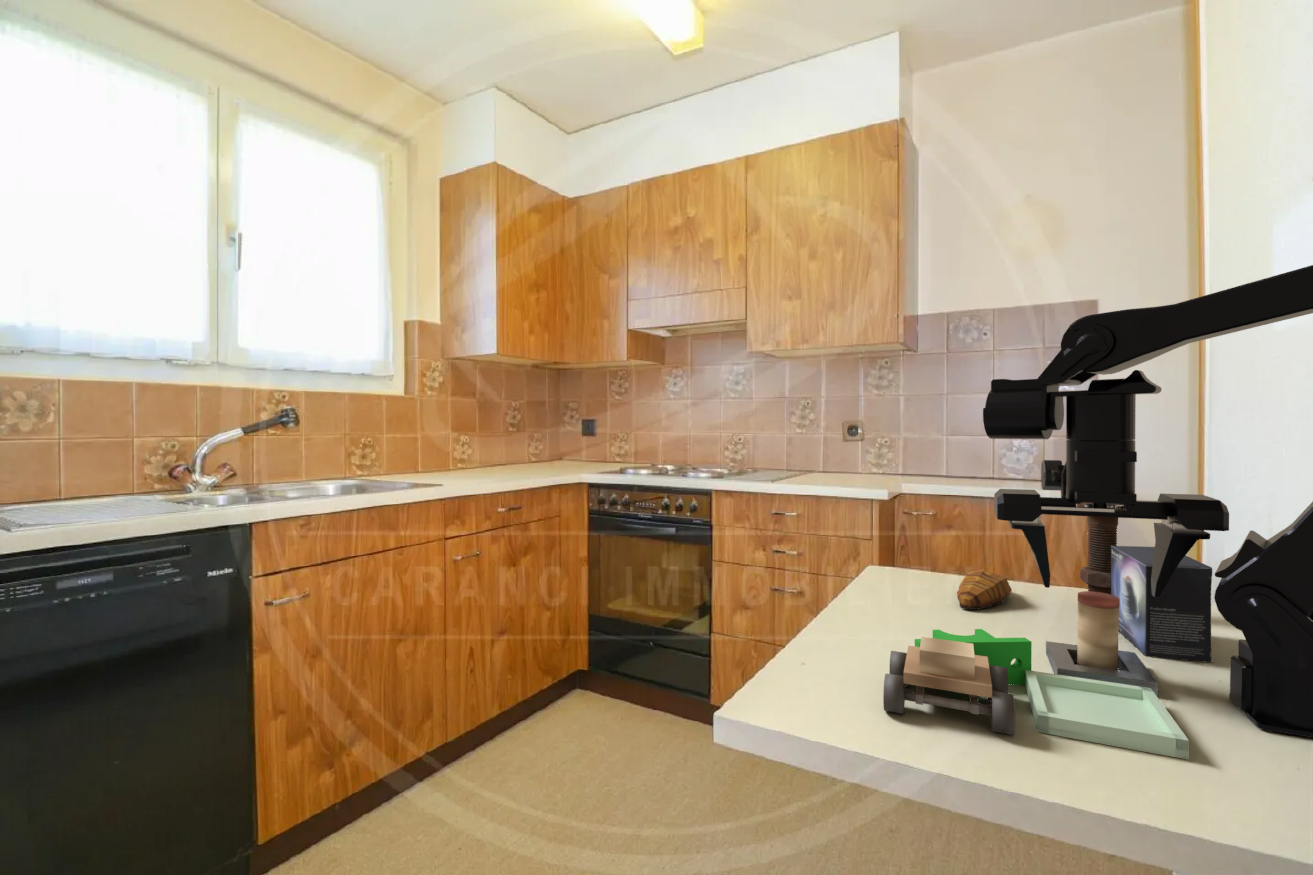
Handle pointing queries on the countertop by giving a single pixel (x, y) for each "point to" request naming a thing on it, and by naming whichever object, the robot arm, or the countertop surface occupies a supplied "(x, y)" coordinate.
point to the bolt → (1100, 552)
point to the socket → (1128, 665)
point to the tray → (1104, 713)
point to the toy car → (950, 681)
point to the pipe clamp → (996, 651)
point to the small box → (1163, 605)
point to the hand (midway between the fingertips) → (1099, 591)
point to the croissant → (982, 590)
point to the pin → (1098, 630)
